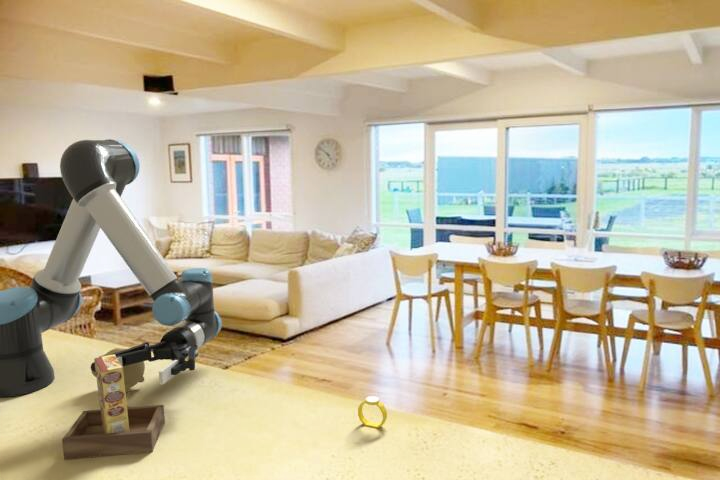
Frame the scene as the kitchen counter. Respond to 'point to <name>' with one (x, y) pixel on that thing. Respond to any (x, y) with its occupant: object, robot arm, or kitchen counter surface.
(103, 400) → the candy box
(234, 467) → the kitchen counter surface
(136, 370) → the round plush toy
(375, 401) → the gold gem ring
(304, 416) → the kitchen counter surface
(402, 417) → the kitchen counter surface
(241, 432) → the kitchen counter surface
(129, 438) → the tray
